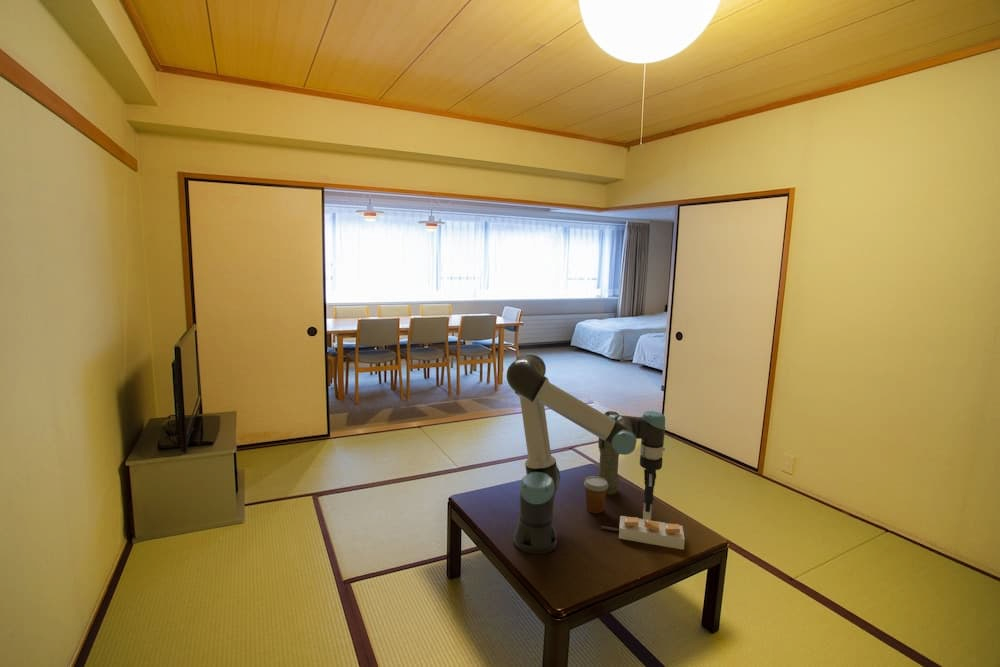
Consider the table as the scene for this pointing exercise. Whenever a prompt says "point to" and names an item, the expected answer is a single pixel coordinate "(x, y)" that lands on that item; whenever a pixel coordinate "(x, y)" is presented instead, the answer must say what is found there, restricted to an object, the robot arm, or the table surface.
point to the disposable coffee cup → (595, 493)
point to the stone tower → (608, 463)
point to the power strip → (650, 534)
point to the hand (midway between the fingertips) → (646, 518)
